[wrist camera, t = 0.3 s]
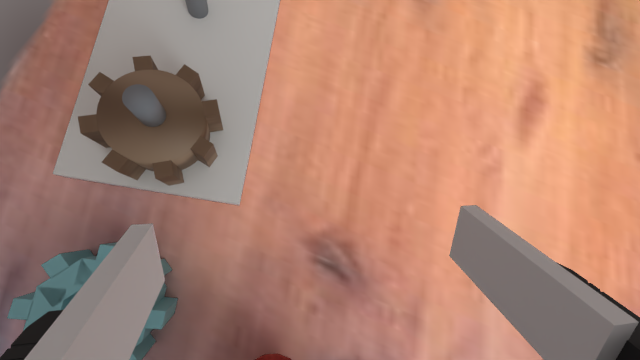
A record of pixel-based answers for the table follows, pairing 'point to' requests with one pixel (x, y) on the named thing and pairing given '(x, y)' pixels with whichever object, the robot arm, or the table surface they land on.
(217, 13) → the gear board
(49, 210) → the table surface
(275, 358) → the onion
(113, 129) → the walnut gear
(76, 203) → the table surface
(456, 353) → the table surface
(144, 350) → the teal gear
